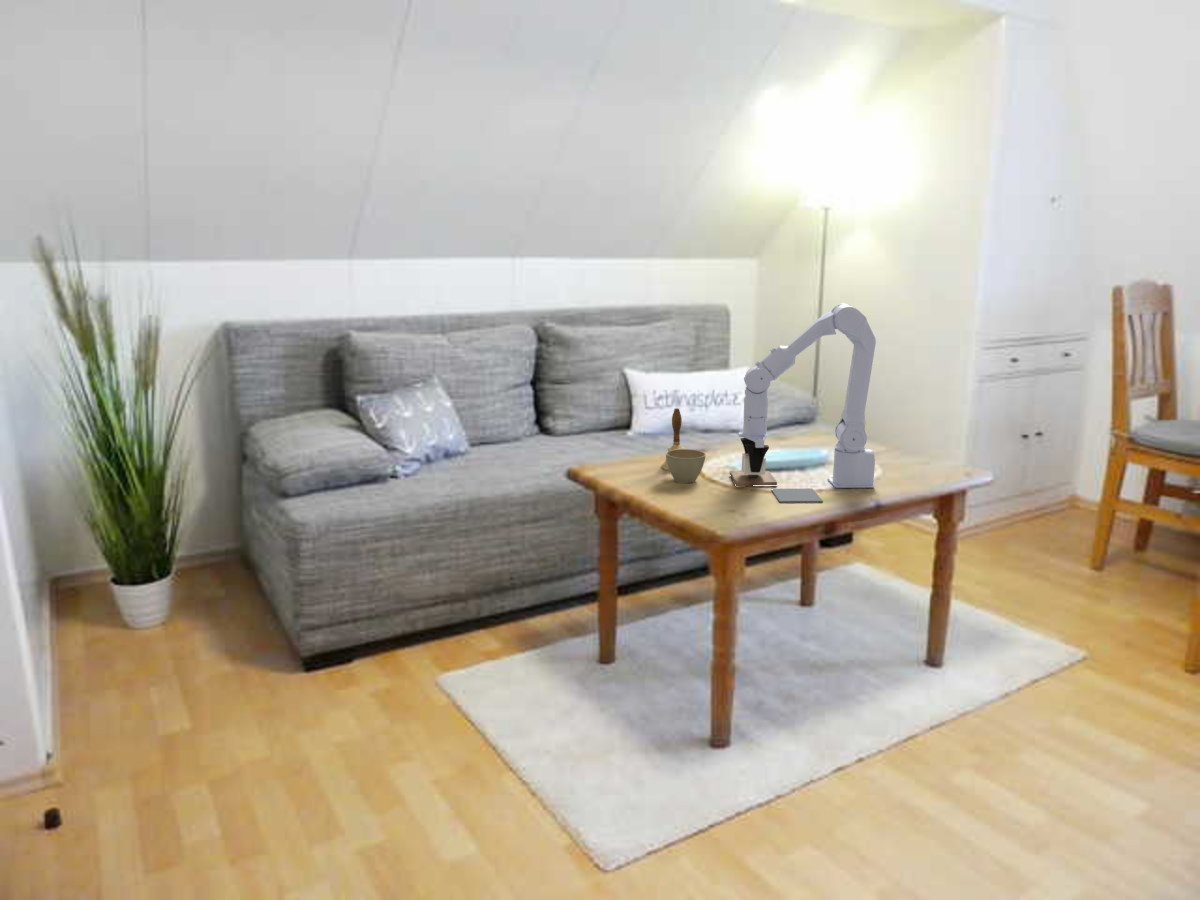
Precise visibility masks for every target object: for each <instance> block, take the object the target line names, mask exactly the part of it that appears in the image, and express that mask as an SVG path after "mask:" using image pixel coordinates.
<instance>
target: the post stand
mask: <svg viewBox="0 0 1200 900" xmlns="http://www.w3.org/2000/svg"><path fill="white" fill-rule="evenodd" d="M729 472H730V473H729V476H730V475H731V477H732V478H731V477H730V478H731V480H732V479H733V480H732V482H733V481H734V482H733V483H735V484H736V486H753V485H777V486H778V482H777V480H776V479H775V477H774V475H772V473H771V472H770V471H768V470H765V475H745V474H744V472H743V471H741V470H740V471H735V470H734V471H729ZM735 484H734V485H735ZM736 486H735V487H736Z"/></svg>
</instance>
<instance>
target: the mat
mask: <svg viewBox="0 0 1200 900" xmlns="http://www.w3.org/2000/svg"><path fill="white" fill-rule="evenodd" d="M772 489H773V490H772V491H773V492H772V491H771V492H772V494H773V493H774V494H773V495H774V497H775V496H776V497H775V498H776V500H777V502H778V503H781V504H783V503H785V504H791V503H792V504H793V503H794V504H795V503H796V504H797V503H798V504H800V503H803V504H805V503H809V504H810V503H811V504H813V503H823V502H824V500H823V499H822V498H821V497H820V495H818V493H817V492H816V491H815V490H814V488H813V487H812V488H809V487H808V488H772Z"/></svg>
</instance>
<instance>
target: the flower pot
mask: <svg viewBox="0 0 1200 900" xmlns="http://www.w3.org/2000/svg"><path fill="white" fill-rule="evenodd" d="M706 456H707V454H706V453H705V452H704V451H702V450H697V449H693V448H692V449H691V448H685V449H676V450H670V451H668V450H667V451H666V452H665V460H667V464H668V467H669V470H670V471H669V470H668V471H669V472H670V474H671V477H672V478H673V479H674V480H673V481H675V482H676V483H680V484H692V483H694V482H696V480H698V478H699V475H700V474H701V472H702V469H703V467H704V465H705V460H706Z"/></svg>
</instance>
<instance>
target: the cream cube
mask: <svg viewBox="0 0 1200 900" xmlns="http://www.w3.org/2000/svg"><path fill="white" fill-rule="evenodd" d="M766 462H767V458H766V457H765V456H764V459H763V463H762V466H761V470H760V472H751V469H750V461H749V455H748V453H745V452H744V453H741V470H742V471H743V472H744V474H745V475H765V471H766Z"/></svg>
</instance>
